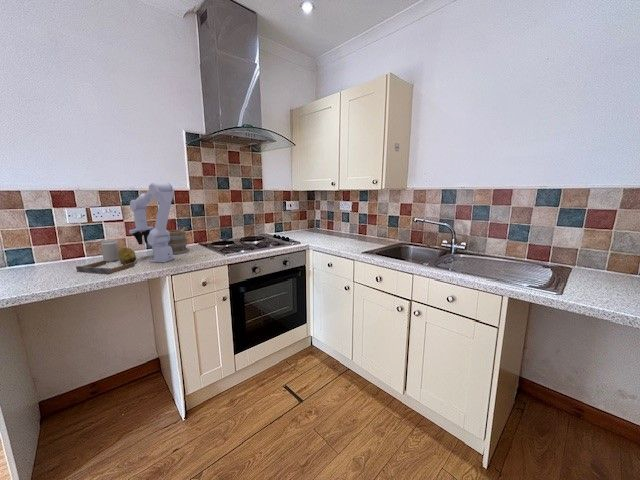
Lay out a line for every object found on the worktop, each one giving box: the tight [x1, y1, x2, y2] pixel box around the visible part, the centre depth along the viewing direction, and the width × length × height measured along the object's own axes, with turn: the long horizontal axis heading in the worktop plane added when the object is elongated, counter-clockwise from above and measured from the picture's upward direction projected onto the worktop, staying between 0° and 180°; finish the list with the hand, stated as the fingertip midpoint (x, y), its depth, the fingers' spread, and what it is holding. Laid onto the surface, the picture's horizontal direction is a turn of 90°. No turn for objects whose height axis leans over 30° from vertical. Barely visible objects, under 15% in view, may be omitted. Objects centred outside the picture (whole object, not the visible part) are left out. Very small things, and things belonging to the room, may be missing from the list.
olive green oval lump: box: [118, 247, 137, 265], centre depth 146 cm, size 8×13×8 cm, turn 33°
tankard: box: [167, 226, 189, 256], centre depth 172 cm, size 20×13×15 cm, turn 173°
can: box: [100, 238, 120, 263], centre depth 150 cm, size 8×8×12 cm
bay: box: [75, 260, 136, 275], centre depth 136 cm, size 20×14×2 cm, turn 77°
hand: (143, 243), depth 157 cm, fingers open, 4 cm apart
